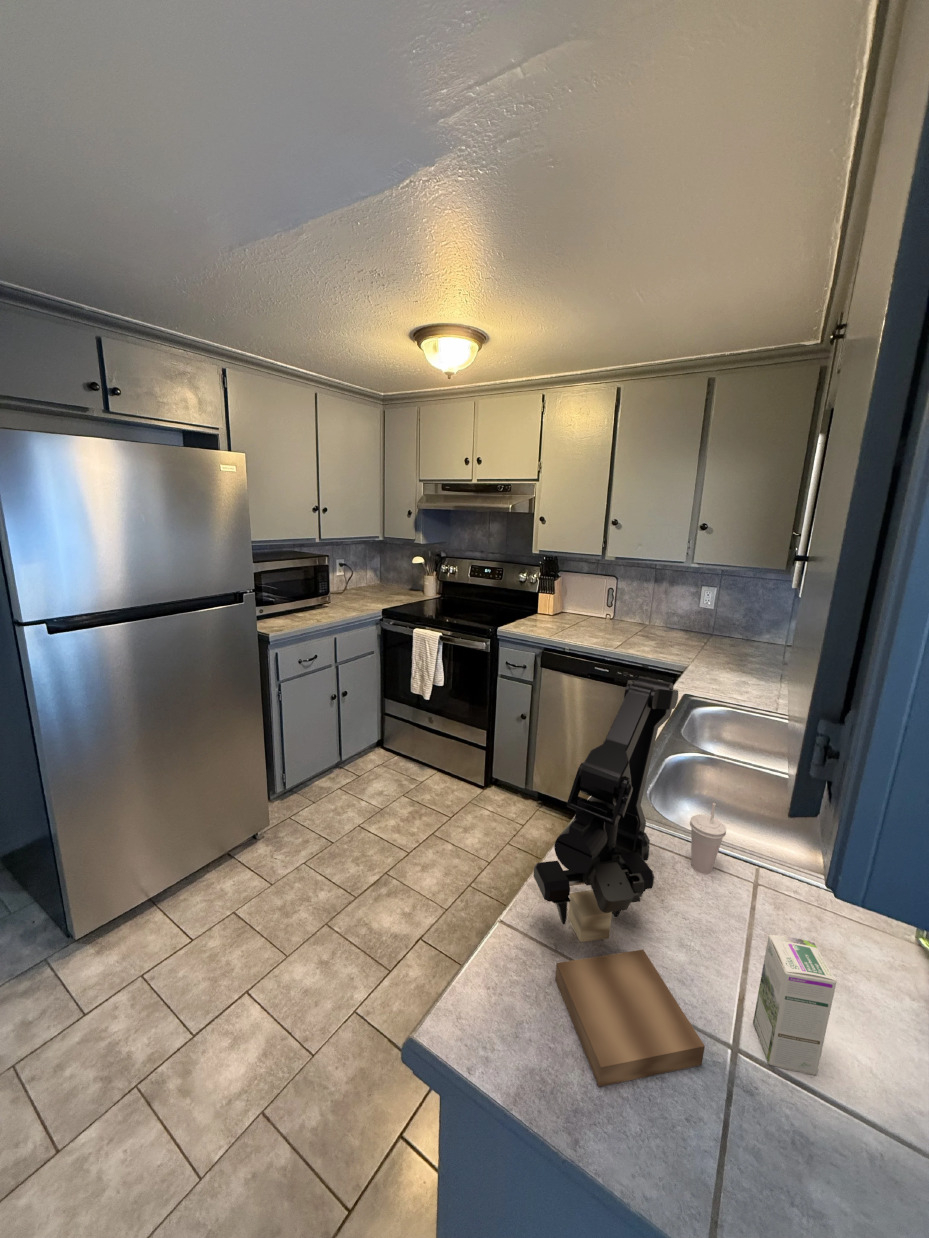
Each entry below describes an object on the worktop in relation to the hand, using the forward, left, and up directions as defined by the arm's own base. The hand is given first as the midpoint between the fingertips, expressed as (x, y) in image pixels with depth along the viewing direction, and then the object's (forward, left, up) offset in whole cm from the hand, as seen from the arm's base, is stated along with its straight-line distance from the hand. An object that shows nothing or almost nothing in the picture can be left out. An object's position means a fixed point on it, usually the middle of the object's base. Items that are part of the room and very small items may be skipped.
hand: (588, 918), depth 81 cm
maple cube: (0, 0, -2) cm, 2 cm away
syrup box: (-17, +22, -2) cm, 28 cm away
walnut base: (+2, +15, -2) cm, 15 cm away
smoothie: (-29, -10, -2) cm, 31 cm away
